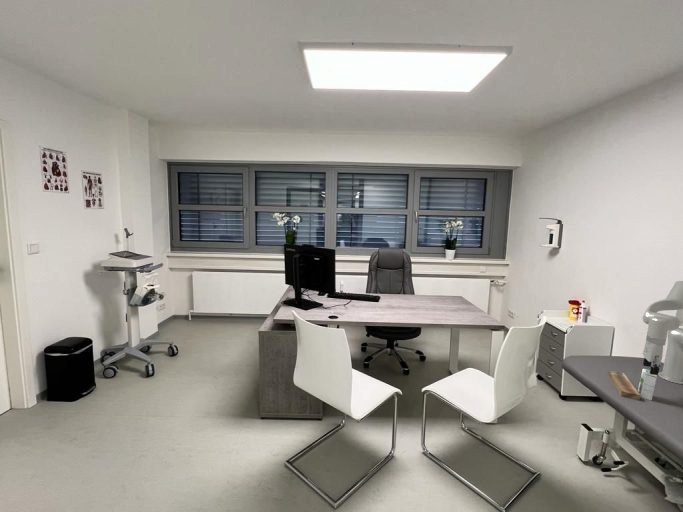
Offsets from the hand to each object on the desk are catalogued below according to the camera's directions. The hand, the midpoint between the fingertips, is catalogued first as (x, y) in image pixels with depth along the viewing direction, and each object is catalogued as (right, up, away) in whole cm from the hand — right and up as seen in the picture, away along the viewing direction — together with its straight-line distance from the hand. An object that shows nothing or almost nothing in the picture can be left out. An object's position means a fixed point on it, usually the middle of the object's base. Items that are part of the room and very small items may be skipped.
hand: (650, 370), depth 179 cm
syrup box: (-1, -15, +2) cm, 16 cm away
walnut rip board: (-5, -13, +12) cm, 18 cm away
